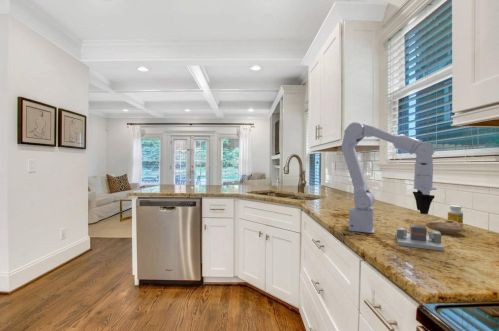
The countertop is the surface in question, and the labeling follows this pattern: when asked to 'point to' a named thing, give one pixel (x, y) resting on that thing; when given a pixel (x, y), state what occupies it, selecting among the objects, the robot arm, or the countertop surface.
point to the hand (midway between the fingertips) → (422, 212)
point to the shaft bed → (431, 241)
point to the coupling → (418, 232)
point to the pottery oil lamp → (446, 226)
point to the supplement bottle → (455, 214)
